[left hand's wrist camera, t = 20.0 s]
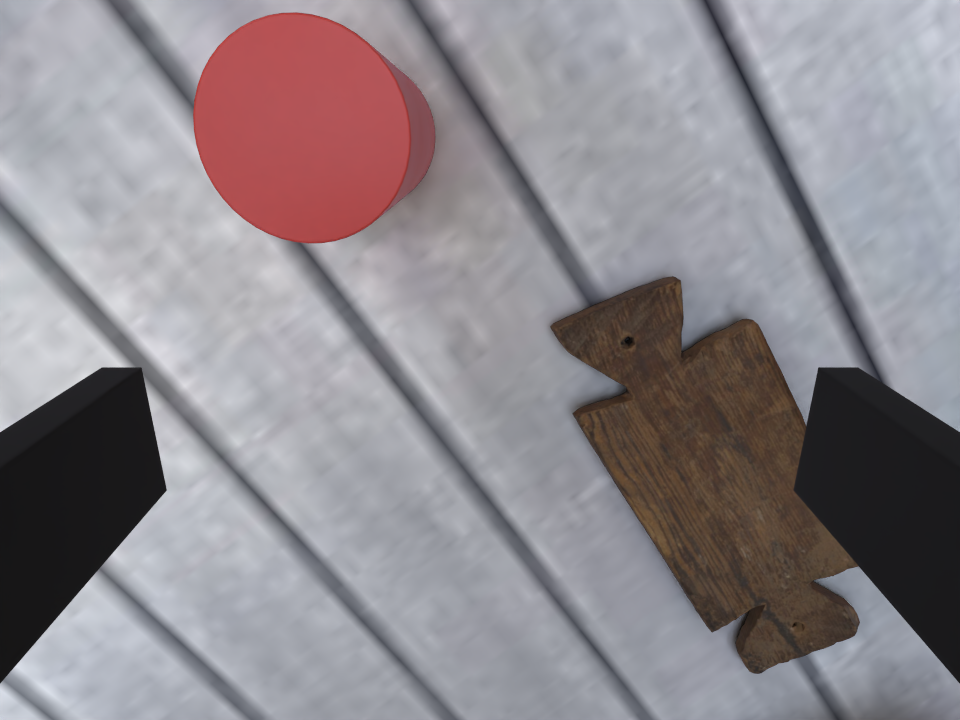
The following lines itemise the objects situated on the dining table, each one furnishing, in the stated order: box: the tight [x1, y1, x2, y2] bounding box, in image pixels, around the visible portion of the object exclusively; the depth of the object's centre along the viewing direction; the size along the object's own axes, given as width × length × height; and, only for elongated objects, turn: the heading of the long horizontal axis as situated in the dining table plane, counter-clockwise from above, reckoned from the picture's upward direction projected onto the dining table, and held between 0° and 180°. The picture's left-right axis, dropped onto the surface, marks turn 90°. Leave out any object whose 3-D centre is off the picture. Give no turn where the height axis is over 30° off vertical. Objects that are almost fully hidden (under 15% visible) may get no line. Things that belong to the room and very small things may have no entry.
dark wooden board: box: [550, 277, 860, 674], centre depth 33 cm, size 26×2×10 cm
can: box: [193, 13, 435, 243], centre depth 23 cm, size 6×6×11 cm
